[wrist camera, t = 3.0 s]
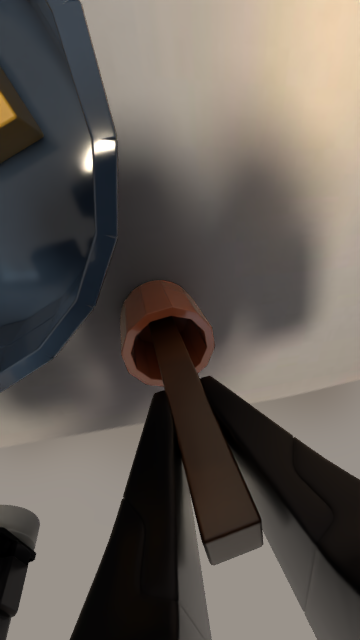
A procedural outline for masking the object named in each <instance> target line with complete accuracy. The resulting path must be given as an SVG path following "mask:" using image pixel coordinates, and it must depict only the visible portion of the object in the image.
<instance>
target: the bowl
mask: <svg viewBox="0 0 360 640" xmlns="http://www.w3.org/2000/svg"><path fill="white" fill-rule="evenodd" d="M0 67H1V68H2V70H3V71H4V73H5V75H6V76H7V78H8V79H9V81H10V82H11V84H12V86H13V87H14V89H15V90H16V92H17V93H18V95H19V96H20V98H21V100H22V101H23V103H24V104H25V106H26V107H27V109H28V111H29V112H30V114H31V115H32V117H33V118H34V120H35V122H36V123H37V125H38V126H39V128H40V129H41V131H42V133H43V134H44V137H43V138H41V139H40V140H38V141H36V142H35V143H33V144H31V145H30V146H28V147H26V148H25V149H23V150H21V151H20V152H18V153H17V154H15V155H13V156H12V157H10V158H8V159H7V160H5V161H3V162H2V163H0V393H1V392H2V391H4V390H6V389H7V388H9V387H10V386H12V385H13V384H15V383H17V382H18V381H20V380H21V379H23V378H24V377H26V376H28V375H29V374H31V373H32V372H34V371H35V370H37V369H39V368H40V367H42V366H43V365H45V364H46V363H48V362H50V361H51V360H53V359H54V358H55V357H56V356H57V355H58V353H59V352H60V351H61V350H62V348H63V347H64V346H65V345H66V343H67V342H68V341H69V340H70V338H71V337H72V336H73V335H74V333H75V332H76V331H77V330H78V328H79V327H80V326H81V325H82V323H83V322H84V321H85V320H86V318H87V317H88V316H89V315H90V313H91V312H92V311H93V309H94V307H95V306H96V303H97V300H98V297H99V294H100V291H101V288H102V285H103V282H104V279H105V276H106V273H107V270H108V266H109V263H110V260H111V257H112V254H113V251H114V248H115V245H116V242H117V236H118V141H117V134H116V130H115V127H114V123H113V119H112V115H111V112H110V108H109V104H108V100H107V97H106V93H105V89H104V85H103V82H102V78H101V74H100V70H99V67H98V63H97V59H96V55H95V52H94V48H93V44H92V40H91V37H90V33H89V29H88V25H87V22H86V18H85V14H84V10H83V7H82V4H81V2H80V1H79V0H0Z"/></svg>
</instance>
